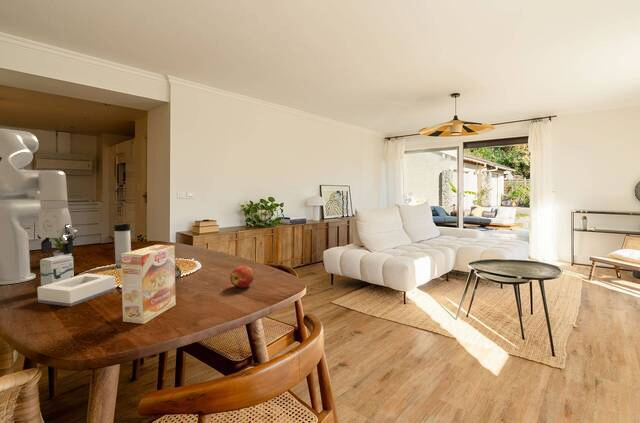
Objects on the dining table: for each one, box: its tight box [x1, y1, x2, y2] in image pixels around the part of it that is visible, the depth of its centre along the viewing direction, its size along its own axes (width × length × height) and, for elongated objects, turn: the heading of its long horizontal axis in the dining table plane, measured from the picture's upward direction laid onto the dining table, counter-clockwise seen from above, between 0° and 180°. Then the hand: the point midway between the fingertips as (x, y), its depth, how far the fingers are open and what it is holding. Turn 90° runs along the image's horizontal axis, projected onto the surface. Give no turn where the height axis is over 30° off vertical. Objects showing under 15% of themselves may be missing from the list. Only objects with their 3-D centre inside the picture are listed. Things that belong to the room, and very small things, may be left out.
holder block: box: [36, 272, 117, 307], centre depth 111 cm, size 13×17×5 cm
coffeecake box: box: [120, 244, 177, 325], centre depth 97 cm, size 15×7×20 cm, turn 170°
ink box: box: [39, 255, 75, 286], centre depth 116 cm, size 9×5×12 cm, turn 169°
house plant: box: [50, 233, 78, 257], centre depth 151 cm, size 14×14×16 cm
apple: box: [229, 265, 255, 289], centre depth 123 cm, size 8×8×8 cm
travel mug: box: [113, 223, 132, 268], centre depth 150 cm, size 6×7×20 cm
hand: (57, 253), depth 115 cm, fingers open, 9 cm apart
